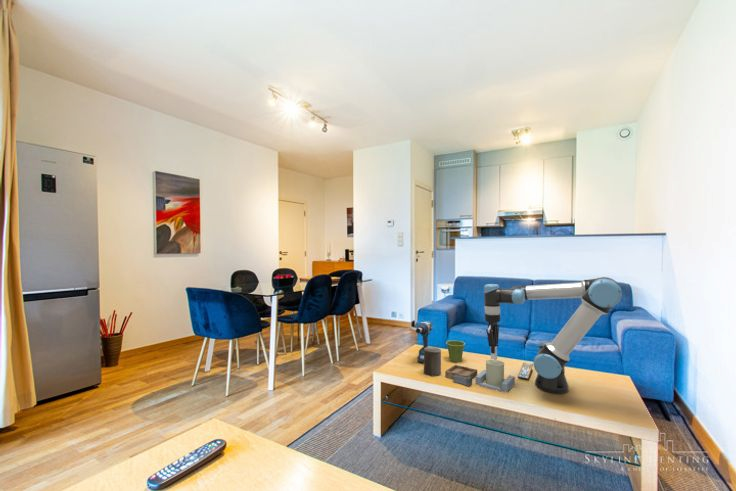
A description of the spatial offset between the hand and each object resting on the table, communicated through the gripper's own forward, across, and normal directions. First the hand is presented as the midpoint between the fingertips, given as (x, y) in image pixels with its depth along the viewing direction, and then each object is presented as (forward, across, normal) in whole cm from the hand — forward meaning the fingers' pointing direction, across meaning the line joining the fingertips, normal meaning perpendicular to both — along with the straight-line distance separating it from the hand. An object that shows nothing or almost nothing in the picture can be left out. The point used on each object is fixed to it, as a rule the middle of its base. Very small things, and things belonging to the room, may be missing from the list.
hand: (494, 358), depth 178 cm
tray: (+13, 0, -18) cm, 23 cm away
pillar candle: (+13, +6, -33) cm, 36 cm away
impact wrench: (+12, -7, -47) cm, 49 cm away
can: (+14, -1, 0) cm, 14 cm away
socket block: (+14, -1, 0) cm, 14 cm away
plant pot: (+13, -22, -33) cm, 41 cm away
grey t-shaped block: (+13, +9, -14) cm, 21 cm away
